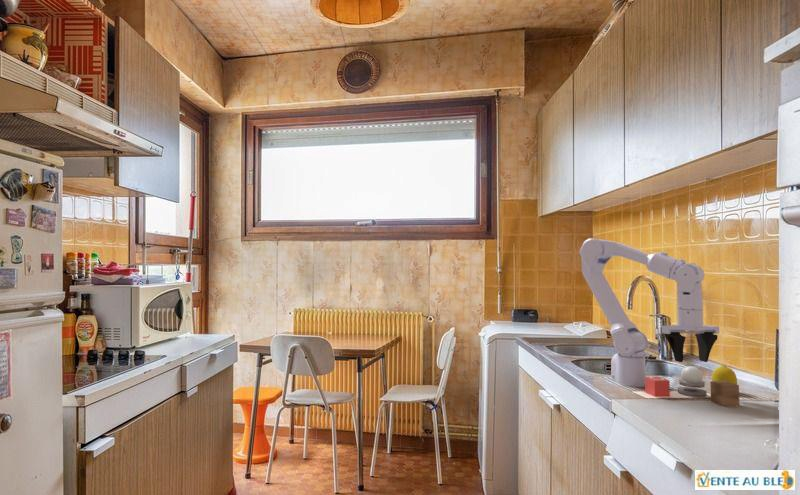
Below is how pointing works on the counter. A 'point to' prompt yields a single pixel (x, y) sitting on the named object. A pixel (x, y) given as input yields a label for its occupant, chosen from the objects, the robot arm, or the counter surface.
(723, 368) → the lemon
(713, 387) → the brown block
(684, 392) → the game board
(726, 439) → the counter surface
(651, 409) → the counter surface
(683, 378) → the dome
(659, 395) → the die
